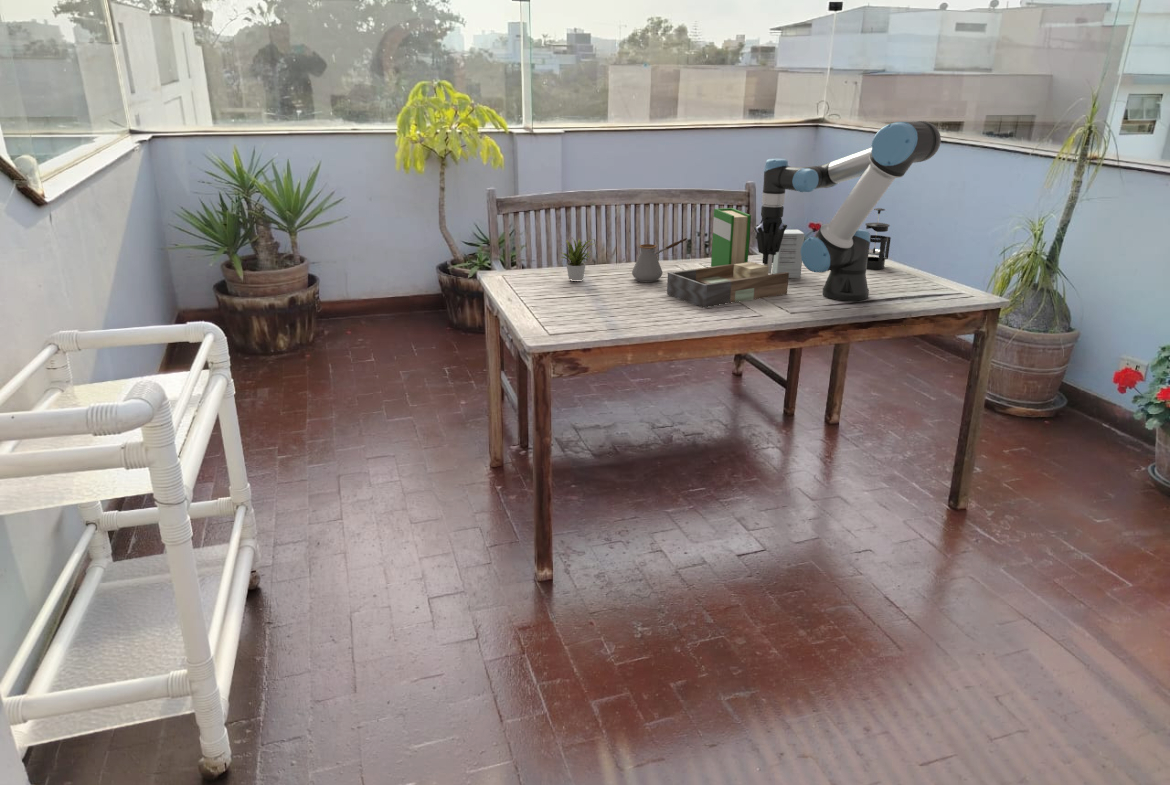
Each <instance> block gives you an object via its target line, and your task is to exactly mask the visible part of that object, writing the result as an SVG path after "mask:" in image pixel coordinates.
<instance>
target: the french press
mask: <svg viewBox="0 0 1170 785" xmlns="http://www.w3.org/2000/svg"><path fill="white" fill-rule="evenodd" d="M873 211H877V222H867V223H865V226H866V227H865V229H866V230H869V229H872V230H873V231H874V232H875V234H870V243H874V245H873V249H870V248H869V253H868V255H871V256H868V261H867V268H866V270H868V271H870V270H872V271H879V270H884V269H885V262H886V260H889V259H888V258H889V254H890V247H891V246H890V245H891V239H892V238H891V236H887V235H886V236H885V235H880V234H878V233H882V232H883V233H885V232H888V231H889V227H890V224H889V223H884V222H879V220H880V214H881V212H882V211H886V209H885V208H881V207H880V208H879V207H878V208H873ZM876 243H877V244H878V243H880V244H879V245H880V246H879V249H877V248H876ZM872 255H873V256H872ZM874 255H875V256H874Z"/></svg>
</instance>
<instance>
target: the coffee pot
mask: <svg viewBox="0 0 1170 785" xmlns="http://www.w3.org/2000/svg"><path fill="white" fill-rule="evenodd" d="M683 242H686V243H687V244H689V240H688V238H687V237H685V238H683V239H679V241H675V242H673V243H671V244H670V245H667V246H665V247H664V248H661V249H659V250H657V251H656V248H657V245H656V244H652V243H651V244H650V243H649V244H648V243H643V244H640V245H639V248H640V249H639V250H640V252H639V255H638V257H637V259H636V262H635V263H634V265H633V269H632V271H631V274H632V276H633V278H634V279H636V281H637V282H640V283H653V282H654V283H655V282H658V280H659V279H660V278H661V277H662V276H663V270H662V268H661V264H660V261H659V259H658V257H657V255H658V254H660V253H662V252H664V251H666V250H669V249H672V248H673V247H676V246H678V245H679V244H683Z"/></svg>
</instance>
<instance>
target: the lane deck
mask: <svg viewBox="0 0 1170 785" xmlns="http://www.w3.org/2000/svg"><path fill="white" fill-rule="evenodd" d="M743 263H746V262H743ZM736 264H739V263H736ZM733 271H734V264H728V265H721V266H713V267H711V266H708V267H701V268H693V269H692V268H691V269H685V270H678V271H676V270H675V271H669V272H667V284H666V285H667V286H666V287H667V288H666V294H667V295H669V296H671V297H674V298H676V299H679V300H682V301H684V300H685V302H687V303H690V304H692V303H693V305H695V304H696V305H695V306H698V305H699V306H698V307H700V306H702V307H701V308H703V307H705V308H709V307H708V306H711V307H715V306H714V305H717V306H720V305H719V304H723V305H726V304H725V303H730V304H732V303H731V302H736V303H740V302H739V301H742V302H746V300H748V301H753V300H758V299H759V298H760V299H765V298H771V297H778V296H777V295H779V296H783V294H785V295H788V285H789V279H790V278H789V273H788V272H783V273H776V274H772V273H768V275H762V276H756V277H749V278H742V279H734V278H733Z"/></svg>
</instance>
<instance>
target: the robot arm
mask: <svg viewBox="0 0 1170 785" xmlns="http://www.w3.org/2000/svg"><path fill="white" fill-rule="evenodd" d="M941 137H942V136H941V133H940V131H939V129H938V128H937V127H936V126H935V124H933V123H931V122H928V121H924V120H923V121H922V120H921V121H920V120H919V121H909V122H908V121H907V122H906V121H896V122H891V123H889V124H887V125H884V126H883V127H881V128H880V129H879V130H878V131H877V132H876V133H875V135H874V137H873V139H872V140H871V141H872V142H871V147H869V148H867V149H863V150H861V151H858V152H855V153H852V154H849V155H846V156H845V157H844V156H843V157H842V158H838V159H835V160H832V161H831V162H827V163H824V164H819V165H813V166H812V165H811V166H801V167H797V166H789V161H788V160H787V159H785V158H768V159H766V161H765V165H764V170H763V185H762V186H763V187H762V188H763V189H762V196H761V198H762V199H761V200H762V201H761V204H762V205H761V208H760V217H761V220H760V224H759V225H758V226H756V225H755V226H754V230H755V233H756V240H757V241H756V242H757V250H758V253H759V254H762V265H765V266H768V267H769V268H768V274H772V267H773V260H774V255H776V252H779V249H780V246H781V242H782V238H783V235H784V231H785V230H787V228H788V224H785V223H783V219H782V218H783V216H784V208H785V207H784V205H785V198H786V197H785V196H786V190H789V191H794V192H799V193H811V192H813V190H817V189H830V188H833V187H835V186H837V185H838V184H840V183H843V182H847V181H850V180H852V179H855V178H859V177H860V178H859V179H858V181H857V182H856V184H855V185H854V186H853V188H852V189H851V191H850V192H849V194H848V195H847V197H846V198H845V199H844V201H843V202H842V204H841V206H840V207H839V208H838V210H837V211H836V213H835V214H834V216H833V217H832V219H831V220H830V221H829V223H824V224H822V225H821V226H820V228H819V229H818V230H817V232H816V234H815V235H814V236H810V237H808V238H806V239H804V242H803V244H802V246H801V259H802V265H804V267H806V269H807V270H808V271H810V272H812V273H825V272H829V271H830V272H829V274H828V275H827V276H828V277H827V279H826V281H825V283H824V284H825V285H824V286H823V287H822V288H823V289H822V295H823V296H824V297H826V298H828V297H829V299H832V298H833V300H837V299H840V300H839V301H848V302H850V301H851V302H853V301H854V302H855V301H857V300H858V301H864V300H866V299H868V298H869V296H870V295H869V294H870V289H869V288H868V280H867V279H868V278H867V269H866V268H867V261H868V257H869V254H868V253H869V249H870V246H871V242H870V235H871V232H870V231H868V230H867V229H866V230H865V229H861V228H860V227H861V226H862V224H863V223H864V222H865V221H866V220H867V218H868V216H869V215H870V214H871V212H872V211H873V210H874V209H875V207H876V206H877V204H878V203H879V201H880V200H881V198H882V197H884V194H885V193H886V192H887V190H888V189H889V187H891V185H892V184H893V182H894V181H895V179H898V178H899V179H900V178H902V177H903V176H905V174H907V172H908V170H909V169H910V168H911V166H912V164H915V163H921V162H926V161H928V160H929V159H931V158H933V157H934V156H935V155H936V153H938V152H939V149H940V146H941V141H942V140H941ZM858 301H857V302H858Z"/></svg>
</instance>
